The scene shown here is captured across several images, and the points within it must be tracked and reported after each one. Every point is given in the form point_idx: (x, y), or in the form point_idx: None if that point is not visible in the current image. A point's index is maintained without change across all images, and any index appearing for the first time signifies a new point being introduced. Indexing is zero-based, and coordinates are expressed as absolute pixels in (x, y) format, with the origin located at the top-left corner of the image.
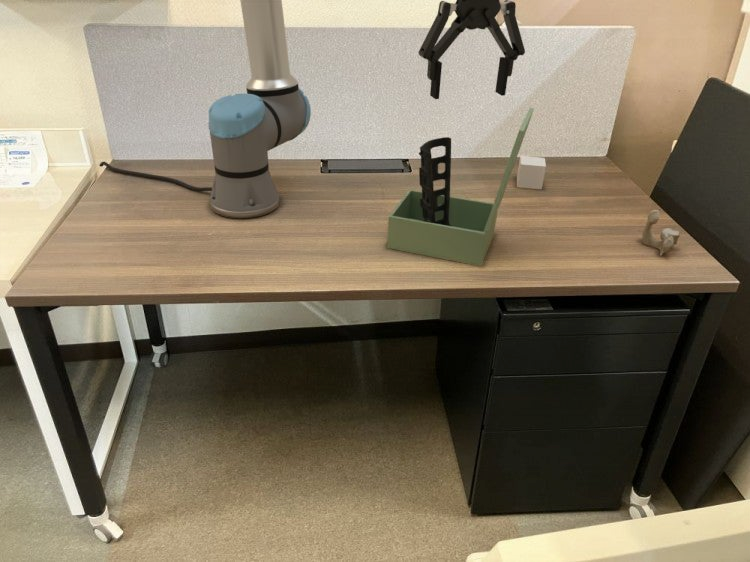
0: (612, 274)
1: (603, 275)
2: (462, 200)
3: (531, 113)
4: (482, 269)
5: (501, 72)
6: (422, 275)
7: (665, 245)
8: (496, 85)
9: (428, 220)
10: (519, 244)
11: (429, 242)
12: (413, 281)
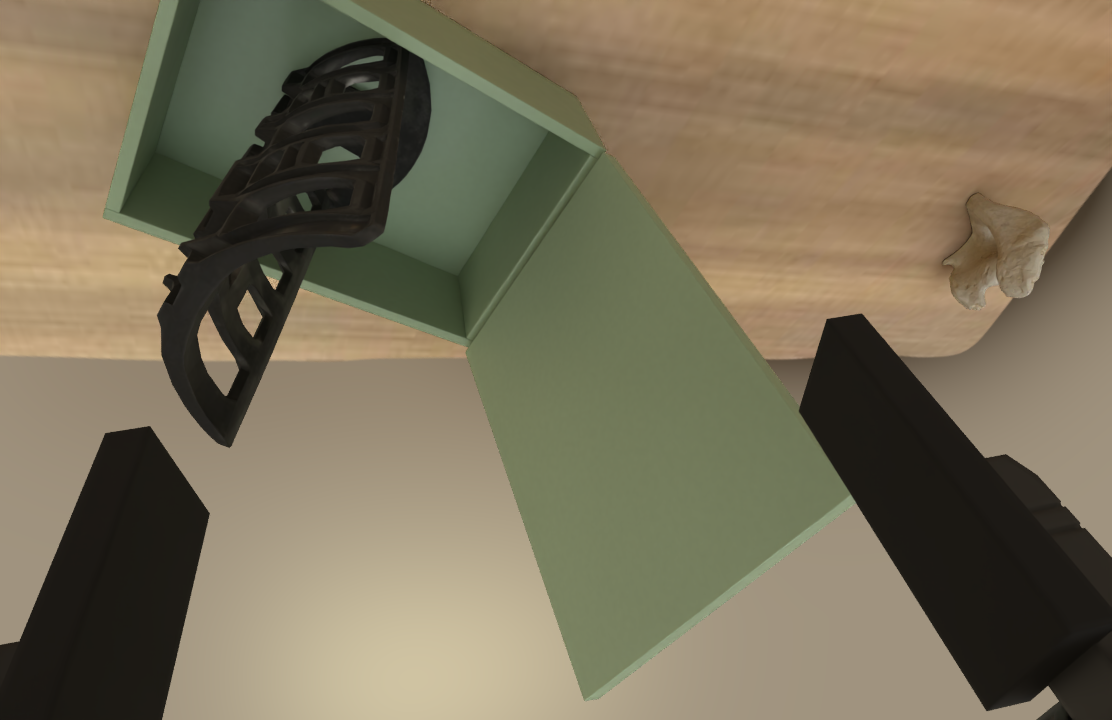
0: (765, 327)
1: None
2: (468, 83)
3: (785, 555)
4: None
5: (919, 530)
6: None
7: (954, 295)
8: (856, 368)
9: (290, 212)
10: (629, 172)
11: None
12: None
